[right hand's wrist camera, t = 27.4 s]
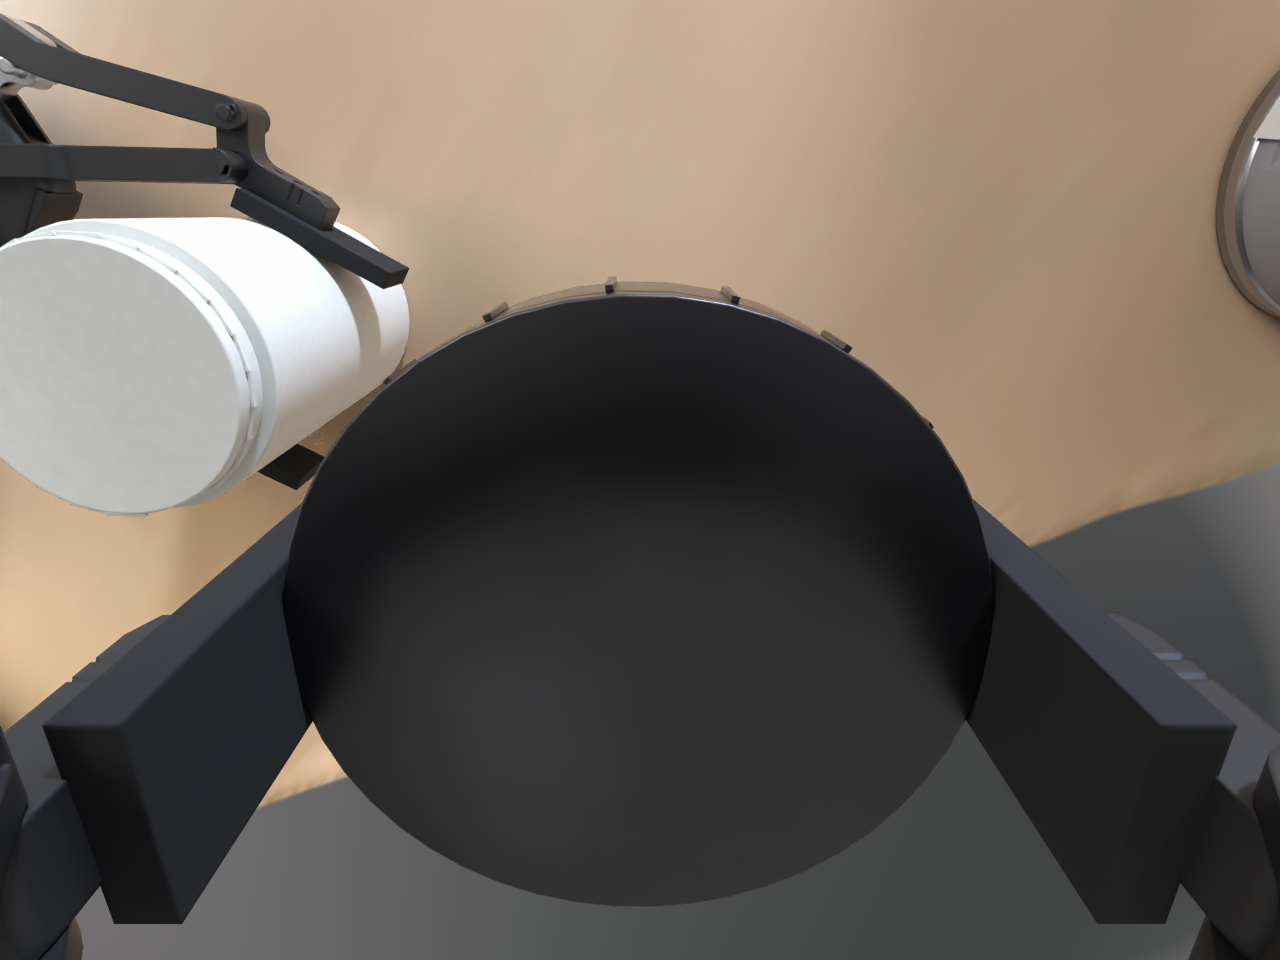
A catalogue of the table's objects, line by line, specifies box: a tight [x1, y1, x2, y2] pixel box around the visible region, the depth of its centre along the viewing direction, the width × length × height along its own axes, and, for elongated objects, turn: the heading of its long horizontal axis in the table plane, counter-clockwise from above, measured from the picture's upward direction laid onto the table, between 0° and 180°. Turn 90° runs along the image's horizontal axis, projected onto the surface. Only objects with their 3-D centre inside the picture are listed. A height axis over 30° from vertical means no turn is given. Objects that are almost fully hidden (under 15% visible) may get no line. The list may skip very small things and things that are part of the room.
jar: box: [0, 217, 410, 517], centre depth 30 cm, size 10×10×17 cm
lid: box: [284, 276, 993, 907], centre depth 11 cm, size 10×10×2 cm
